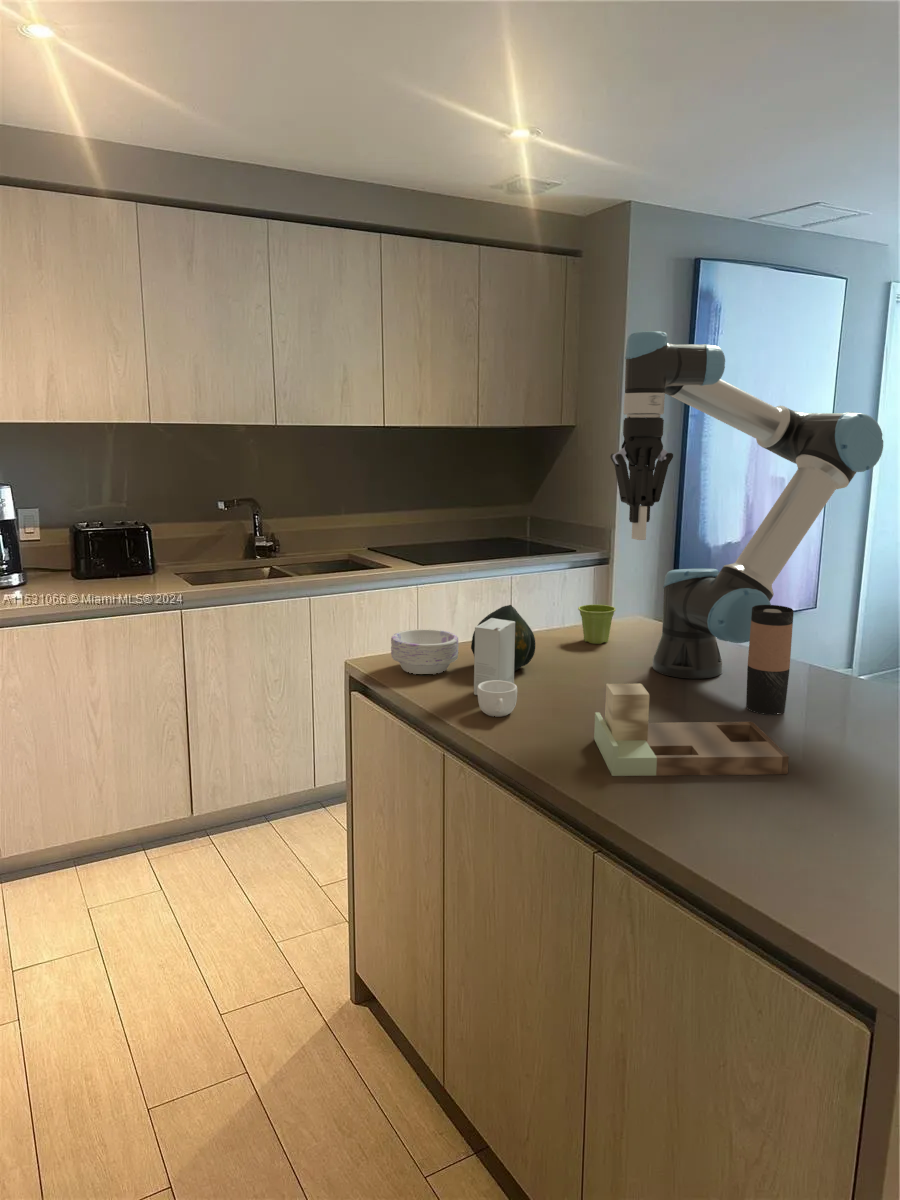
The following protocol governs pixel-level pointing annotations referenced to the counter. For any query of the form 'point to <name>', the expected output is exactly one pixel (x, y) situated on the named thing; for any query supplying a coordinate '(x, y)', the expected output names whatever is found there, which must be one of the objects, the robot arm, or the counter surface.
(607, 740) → the pad
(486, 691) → the teacup
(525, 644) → the squash
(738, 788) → the counter surface
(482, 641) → the skincare box
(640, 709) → the maple block
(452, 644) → the paper bowls
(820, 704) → the counter surface
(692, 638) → the robot arm
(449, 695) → the counter surface
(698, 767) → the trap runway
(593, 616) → the plant pot
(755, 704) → the travel mug
